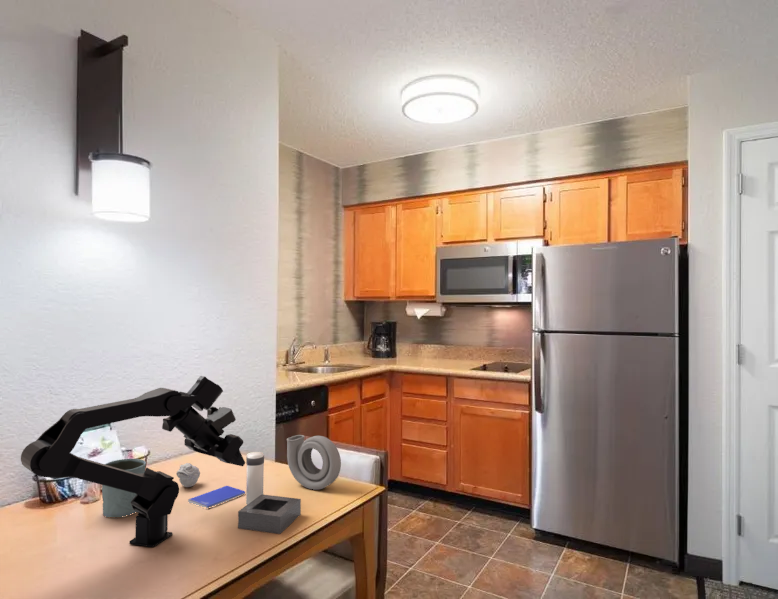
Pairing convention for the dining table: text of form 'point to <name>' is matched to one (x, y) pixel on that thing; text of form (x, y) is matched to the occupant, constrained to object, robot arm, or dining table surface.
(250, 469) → the white rounded cylinder
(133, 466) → the grey green pot
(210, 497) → the hard drive
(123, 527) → the dining table surface
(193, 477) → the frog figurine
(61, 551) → the dining table surface
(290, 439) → the turbocharger housing
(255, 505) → the frame
